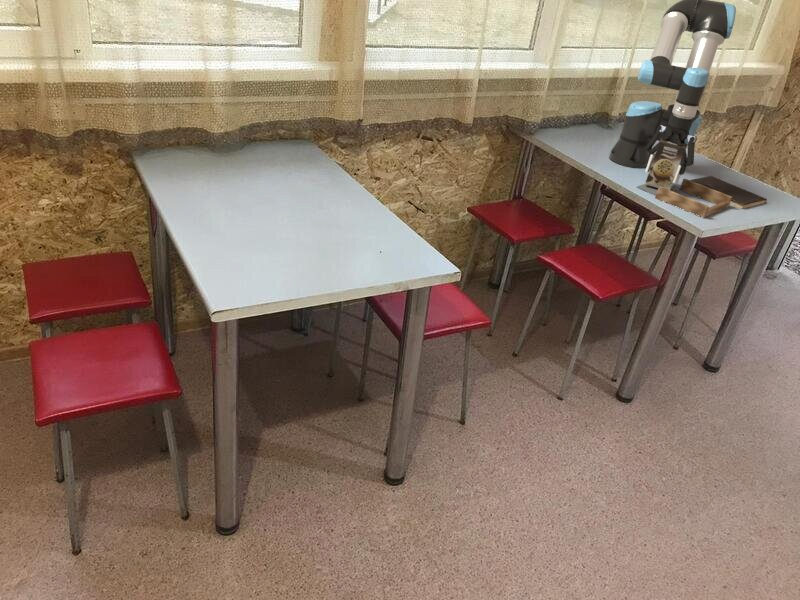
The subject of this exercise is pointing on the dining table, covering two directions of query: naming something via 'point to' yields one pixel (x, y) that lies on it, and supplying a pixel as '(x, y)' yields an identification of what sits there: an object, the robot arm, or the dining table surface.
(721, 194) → the shelf lane
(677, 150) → the coffee box
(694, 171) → the dining table surface
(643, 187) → the mat
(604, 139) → the dining table surface
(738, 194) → the hardcover book
